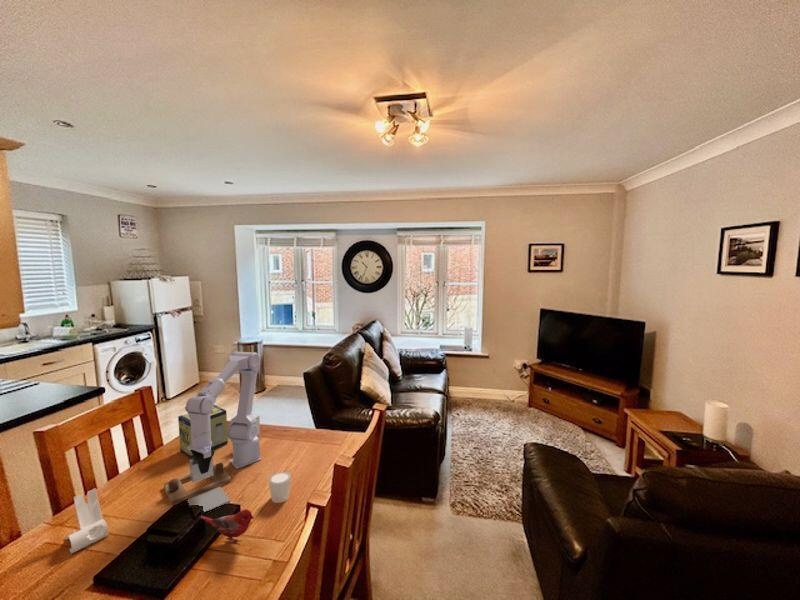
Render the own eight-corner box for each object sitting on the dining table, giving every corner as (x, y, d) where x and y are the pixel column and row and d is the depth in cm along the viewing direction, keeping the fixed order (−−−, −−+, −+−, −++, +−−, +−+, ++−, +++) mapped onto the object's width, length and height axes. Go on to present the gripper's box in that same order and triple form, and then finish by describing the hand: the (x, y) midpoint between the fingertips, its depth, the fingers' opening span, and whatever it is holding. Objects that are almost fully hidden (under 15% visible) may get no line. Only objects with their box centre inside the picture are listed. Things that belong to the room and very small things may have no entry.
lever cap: (210, 470, 116) (209, 453, 116) (213, 475, 114) (212, 458, 113) (190, 477, 112) (189, 460, 112) (193, 482, 109) (192, 465, 109)
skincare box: (252, 447, 145) (251, 420, 144) (243, 446, 145) (242, 419, 144) (260, 440, 151) (259, 415, 150) (252, 439, 151) (251, 414, 150)
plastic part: (72, 556, 89) (69, 515, 88) (62, 539, 95) (59, 500, 94) (108, 537, 95) (105, 499, 94) (97, 522, 101) (94, 486, 100)
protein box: (179, 451, 141) (177, 416, 140) (216, 437, 154) (215, 404, 153) (190, 459, 135) (188, 422, 134) (228, 443, 148) (227, 409, 147)
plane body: (219, 466, 130) (219, 455, 130) (231, 481, 121) (230, 469, 120) (163, 487, 117) (163, 475, 117) (172, 505, 108) (171, 492, 108)
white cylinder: (295, 493, 115) (294, 473, 114) (282, 506, 108) (281, 485, 108) (278, 488, 117) (278, 469, 116) (264, 501, 110) (264, 481, 110)
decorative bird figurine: (252, 549, 91) (250, 514, 91) (195, 540, 94) (193, 506, 94) (258, 540, 94) (257, 507, 93) (203, 532, 97) (201, 499, 96)
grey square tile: (220, 488, 117) (220, 486, 117) (230, 502, 110) (230, 500, 110) (187, 502, 110) (187, 499, 110) (195, 518, 103) (195, 515, 103)
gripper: (182, 427, 114) (183, 465, 115) (192, 442, 104) (194, 484, 105) (205, 421, 119) (206, 457, 120) (217, 435, 109) (219, 475, 110)
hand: (202, 469), depth 113 cm, fingers closed on lever cap, 4 cm apart
